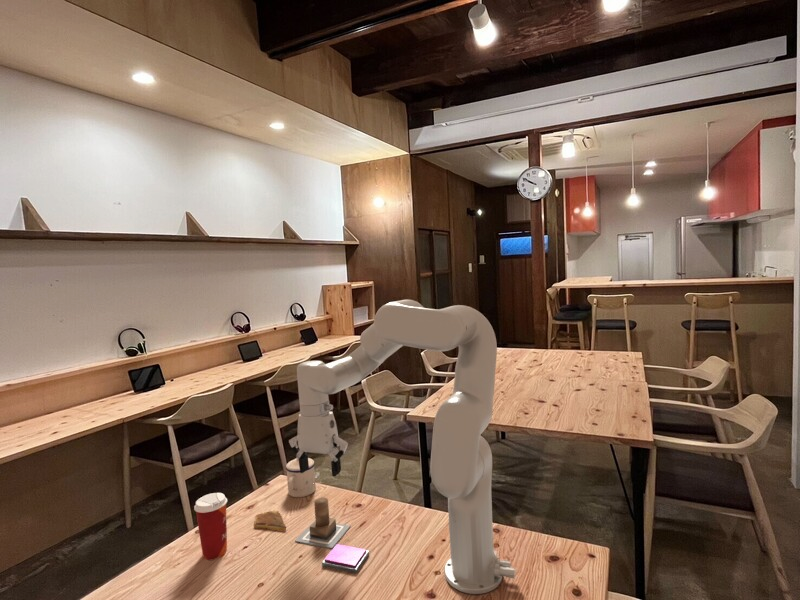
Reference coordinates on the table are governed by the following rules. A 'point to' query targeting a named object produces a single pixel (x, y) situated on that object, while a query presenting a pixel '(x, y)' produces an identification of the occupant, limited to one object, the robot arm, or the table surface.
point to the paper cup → (212, 524)
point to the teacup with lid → (300, 479)
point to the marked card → (328, 543)
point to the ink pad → (345, 558)
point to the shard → (270, 521)
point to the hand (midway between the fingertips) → (320, 472)
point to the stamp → (322, 520)
